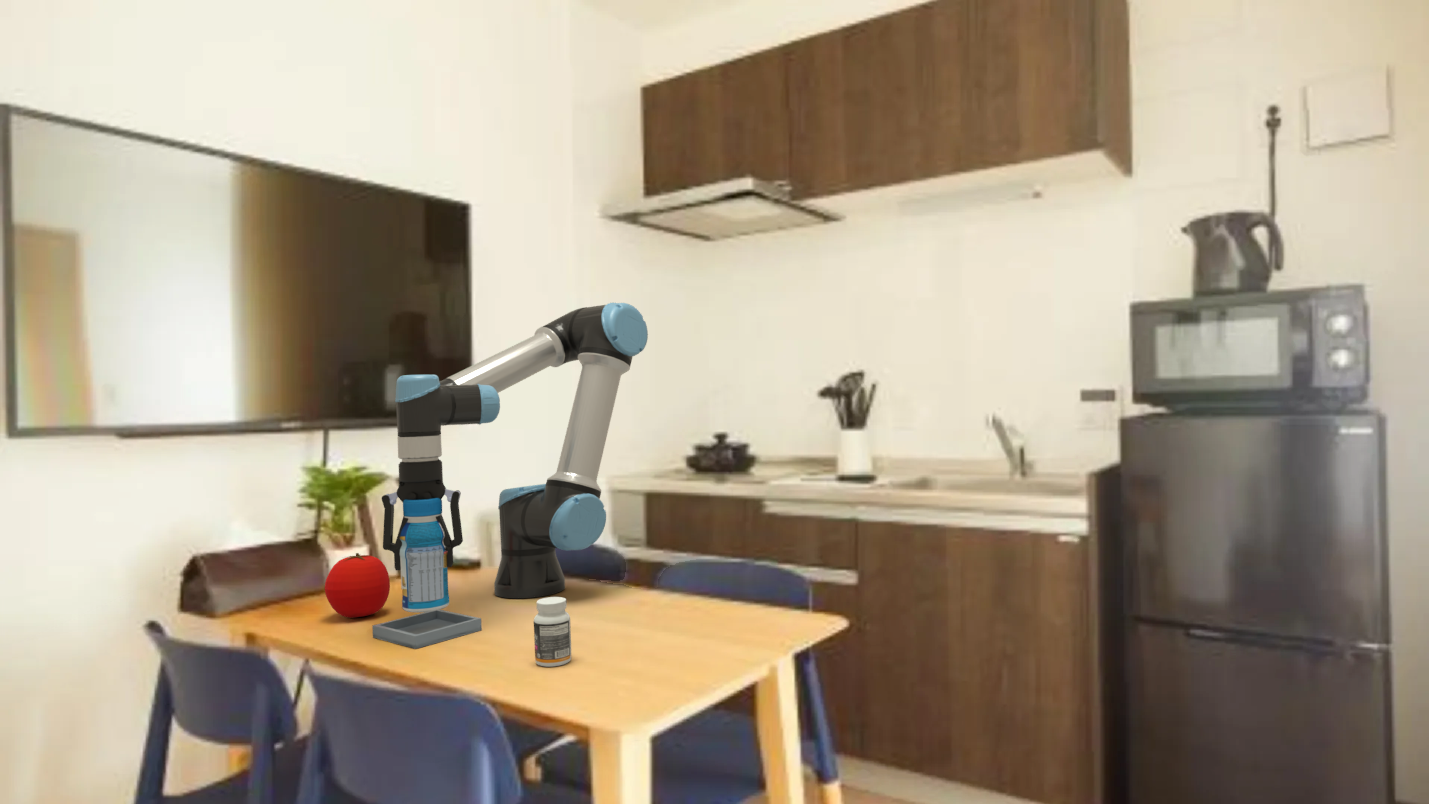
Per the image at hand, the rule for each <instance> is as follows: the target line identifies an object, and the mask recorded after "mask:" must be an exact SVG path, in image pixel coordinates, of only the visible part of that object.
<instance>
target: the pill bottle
mask: <svg viewBox="0 0 1429 804" xmlns="http://www.w3.org/2000/svg"><path fill="white" fill-rule="evenodd" d="M566 609H567V598H565V597H561V596H550V597H543V598H540V599H537V601H536V610H537V612H538V613H537V614H536V615H535V616H534V618H533V632H534V633H533V634H534V635H533V637H534V659H535V660H534V661H535V664H537V666H540V667H544V668H545V667H547V668H549V667H550V668H552V667H559V666H564V665H566V664H568V663H569V662H571V660H572V636H571V635H572V633H571V631H572V630H571V615H570V614H569V613H568V612H567V611H566Z"/></svg>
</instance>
